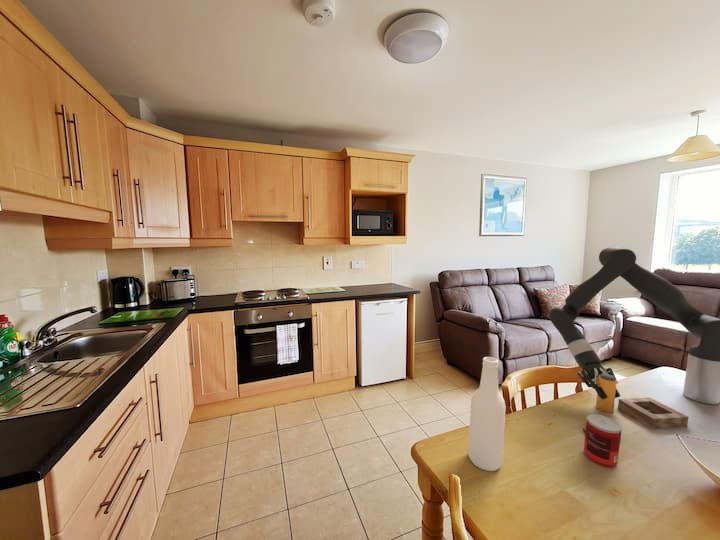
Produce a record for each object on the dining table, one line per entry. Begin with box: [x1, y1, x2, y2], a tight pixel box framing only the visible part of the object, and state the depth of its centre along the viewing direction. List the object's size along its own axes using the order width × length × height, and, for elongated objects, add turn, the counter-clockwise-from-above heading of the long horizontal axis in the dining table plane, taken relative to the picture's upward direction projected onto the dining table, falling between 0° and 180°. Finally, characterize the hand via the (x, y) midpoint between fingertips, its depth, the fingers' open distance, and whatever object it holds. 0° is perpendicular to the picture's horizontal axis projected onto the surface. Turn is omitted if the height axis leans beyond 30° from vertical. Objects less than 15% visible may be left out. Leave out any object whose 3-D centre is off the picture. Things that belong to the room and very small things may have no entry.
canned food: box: [583, 413, 622, 468], centre depth 83 cm, size 8×8×11 cm
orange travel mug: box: [595, 373, 618, 414], centre depth 107 cm, size 5×5×13 cm
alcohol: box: [467, 356, 507, 472], centre depth 81 cm, size 9×9×30 cm
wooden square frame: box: [617, 397, 689, 430], centre depth 103 cm, size 13×12×4 cm
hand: (611, 397), depth 106 cm, fingers closed on orange travel mug, 5 cm apart
